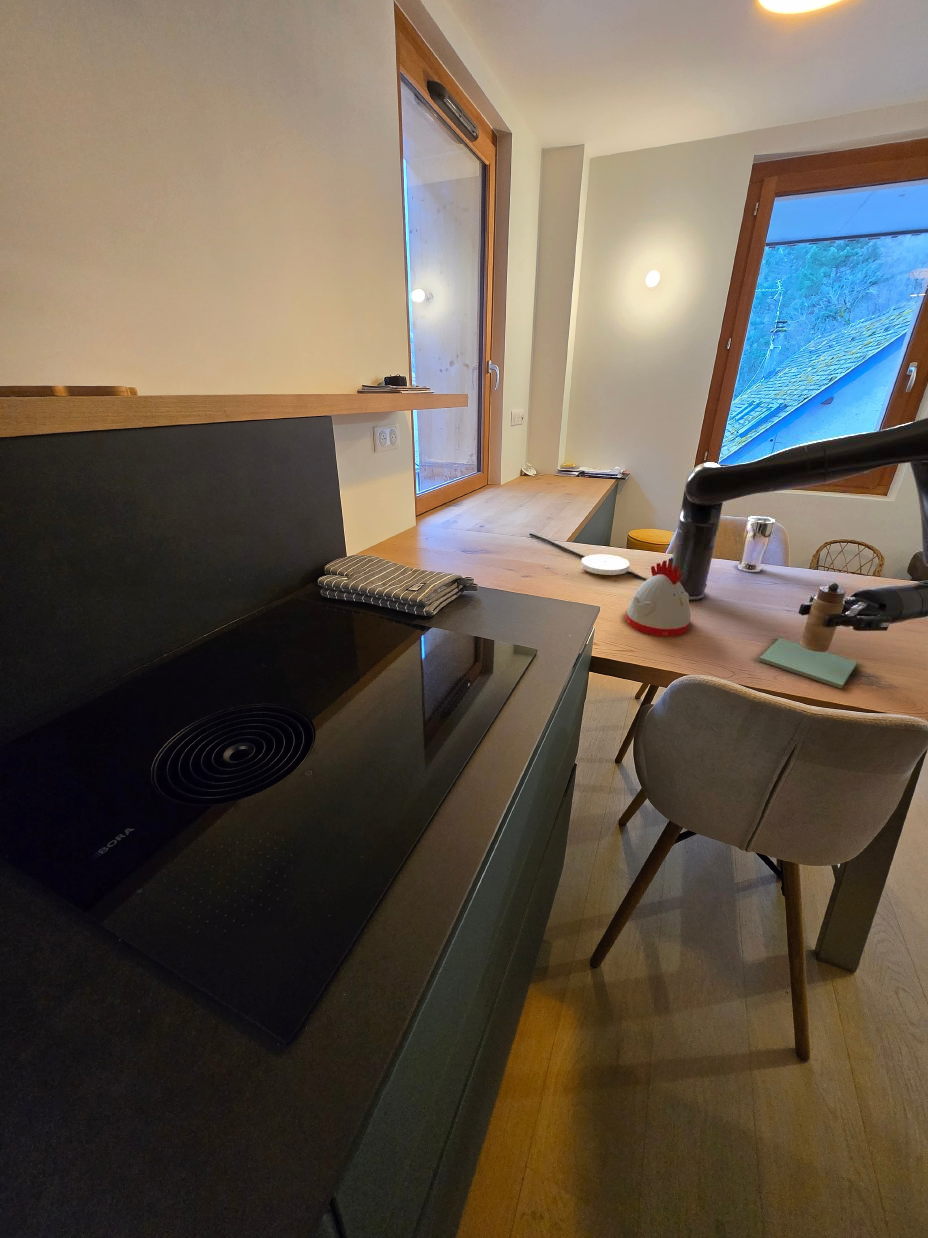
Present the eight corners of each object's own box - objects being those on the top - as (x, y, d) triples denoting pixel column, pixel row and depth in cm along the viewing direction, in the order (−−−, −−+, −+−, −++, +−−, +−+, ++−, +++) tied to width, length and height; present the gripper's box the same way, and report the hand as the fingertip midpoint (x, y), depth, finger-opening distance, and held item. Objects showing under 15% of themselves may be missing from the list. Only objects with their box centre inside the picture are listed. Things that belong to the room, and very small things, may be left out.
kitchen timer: (658, 640, 108) (669, 576, 101) (613, 616, 119) (621, 557, 112) (701, 627, 113) (715, 565, 107) (655, 605, 124) (665, 548, 118)
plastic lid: (579, 561, 155) (579, 553, 154) (624, 562, 153) (625, 555, 152) (582, 577, 142) (583, 568, 141) (632, 579, 141) (633, 570, 140)
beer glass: (731, 565, 150) (742, 516, 143) (752, 564, 150) (765, 515, 144) (744, 573, 144) (757, 522, 137) (767, 572, 144) (781, 522, 138)
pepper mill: (796, 646, 97) (816, 583, 91) (803, 637, 100) (823, 576, 94) (824, 654, 94) (847, 590, 88) (831, 645, 97) (853, 583, 91)
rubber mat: (758, 660, 100) (759, 657, 99) (778, 640, 107) (779, 637, 107) (841, 688, 90) (842, 685, 90) (856, 664, 98) (857, 661, 97)
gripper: (857, 575, 101) (787, 583, 98) (930, 602, 89) (854, 613, 85) (845, 608, 105) (777, 617, 101) (915, 638, 92) (840, 650, 89)
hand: (813, 615), depth 93 cm, fingers closed on pepper mill, 5 cm apart
